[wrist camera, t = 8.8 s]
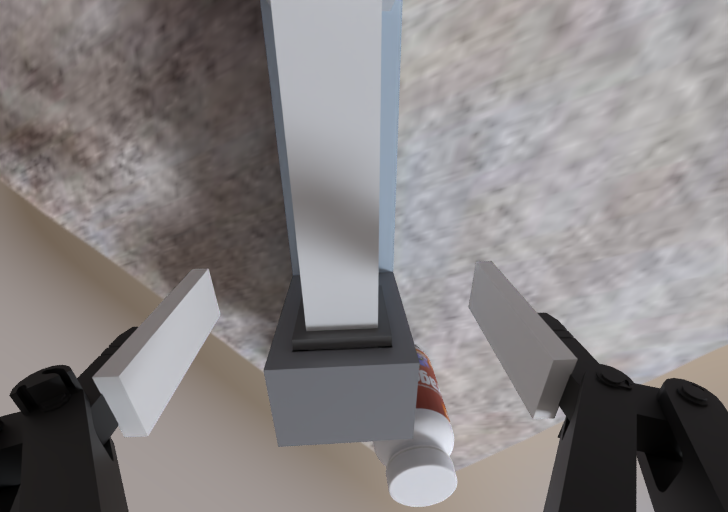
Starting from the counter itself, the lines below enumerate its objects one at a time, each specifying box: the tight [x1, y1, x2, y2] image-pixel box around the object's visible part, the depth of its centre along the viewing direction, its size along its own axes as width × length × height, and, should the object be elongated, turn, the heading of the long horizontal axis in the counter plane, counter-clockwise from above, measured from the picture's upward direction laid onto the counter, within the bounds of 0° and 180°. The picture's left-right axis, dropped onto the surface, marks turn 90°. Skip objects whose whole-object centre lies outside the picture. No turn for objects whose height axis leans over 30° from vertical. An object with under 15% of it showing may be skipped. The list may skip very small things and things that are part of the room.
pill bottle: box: [373, 346, 457, 507], centre depth 26 cm, size 6×6×11 cm
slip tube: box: [270, 0, 392, 351], centre depth 16 cm, size 24×5×5 cm, turn 0°
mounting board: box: [260, 0, 402, 275], centre depth 21 cm, size 32×8×1 cm, turn 0°
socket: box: [264, 272, 420, 447], centre depth 22 cm, size 6×8×10 cm
